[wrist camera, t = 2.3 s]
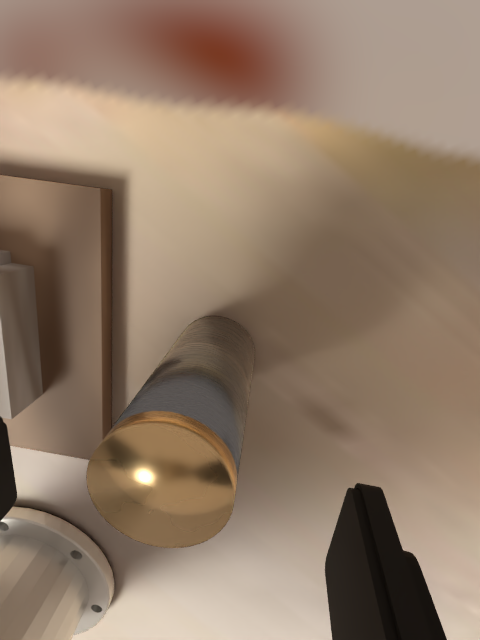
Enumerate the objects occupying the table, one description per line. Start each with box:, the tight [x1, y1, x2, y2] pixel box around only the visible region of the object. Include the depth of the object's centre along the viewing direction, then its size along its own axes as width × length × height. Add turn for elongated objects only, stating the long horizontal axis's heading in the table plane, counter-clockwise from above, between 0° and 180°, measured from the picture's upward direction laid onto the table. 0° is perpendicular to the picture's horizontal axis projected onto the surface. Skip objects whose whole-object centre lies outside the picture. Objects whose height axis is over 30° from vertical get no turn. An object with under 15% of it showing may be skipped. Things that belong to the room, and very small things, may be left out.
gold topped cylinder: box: [87, 316, 255, 548], centre depth 15 cm, size 4×4×10 cm
